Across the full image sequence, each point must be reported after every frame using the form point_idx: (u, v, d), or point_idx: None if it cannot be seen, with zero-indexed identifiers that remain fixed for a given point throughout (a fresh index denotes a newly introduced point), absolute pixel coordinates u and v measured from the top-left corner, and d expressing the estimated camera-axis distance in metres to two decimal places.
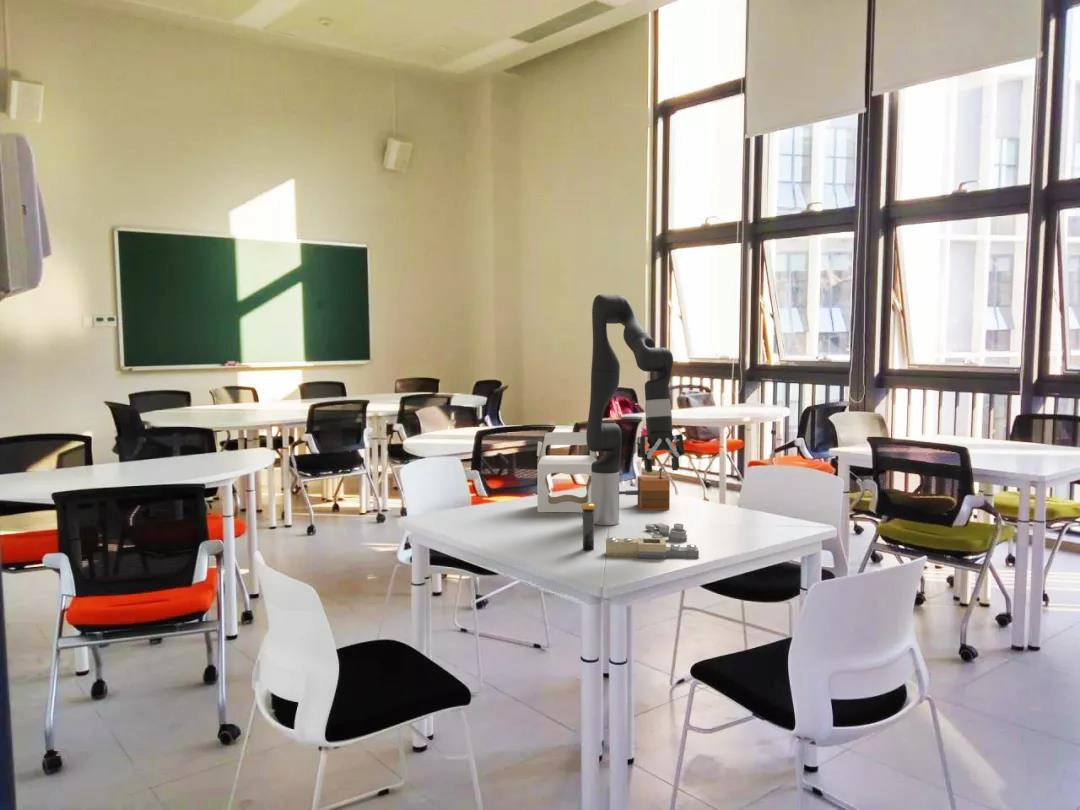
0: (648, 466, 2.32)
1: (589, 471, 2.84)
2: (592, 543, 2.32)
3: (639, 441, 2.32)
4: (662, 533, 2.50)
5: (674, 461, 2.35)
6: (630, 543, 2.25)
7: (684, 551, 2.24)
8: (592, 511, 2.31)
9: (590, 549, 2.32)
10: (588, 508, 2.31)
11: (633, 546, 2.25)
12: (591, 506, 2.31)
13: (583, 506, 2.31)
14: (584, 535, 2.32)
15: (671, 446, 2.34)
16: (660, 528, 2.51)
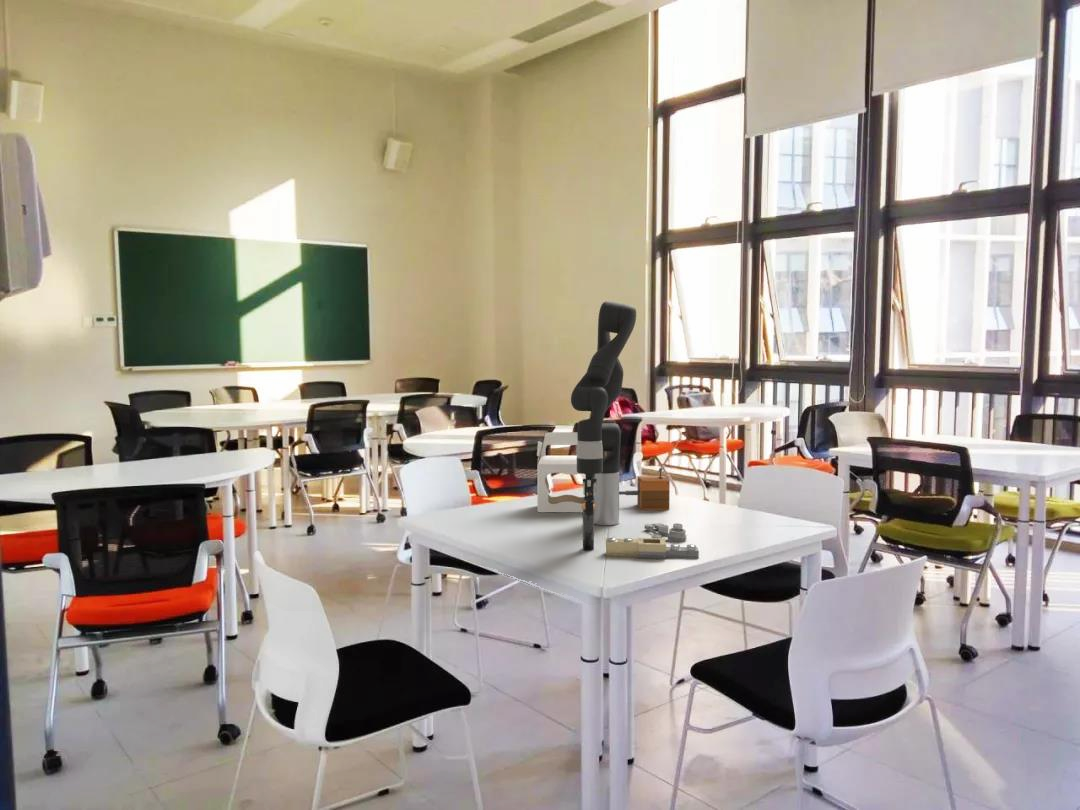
0: None
1: None
2: (592, 543, 2.32)
3: None
4: (661, 533, 2.50)
5: None
6: (630, 543, 2.25)
7: (684, 551, 2.24)
8: None
9: (590, 549, 2.32)
10: None
11: (633, 546, 2.25)
12: None
13: (583, 506, 2.31)
14: (584, 535, 2.32)
15: None
16: (659, 528, 2.51)
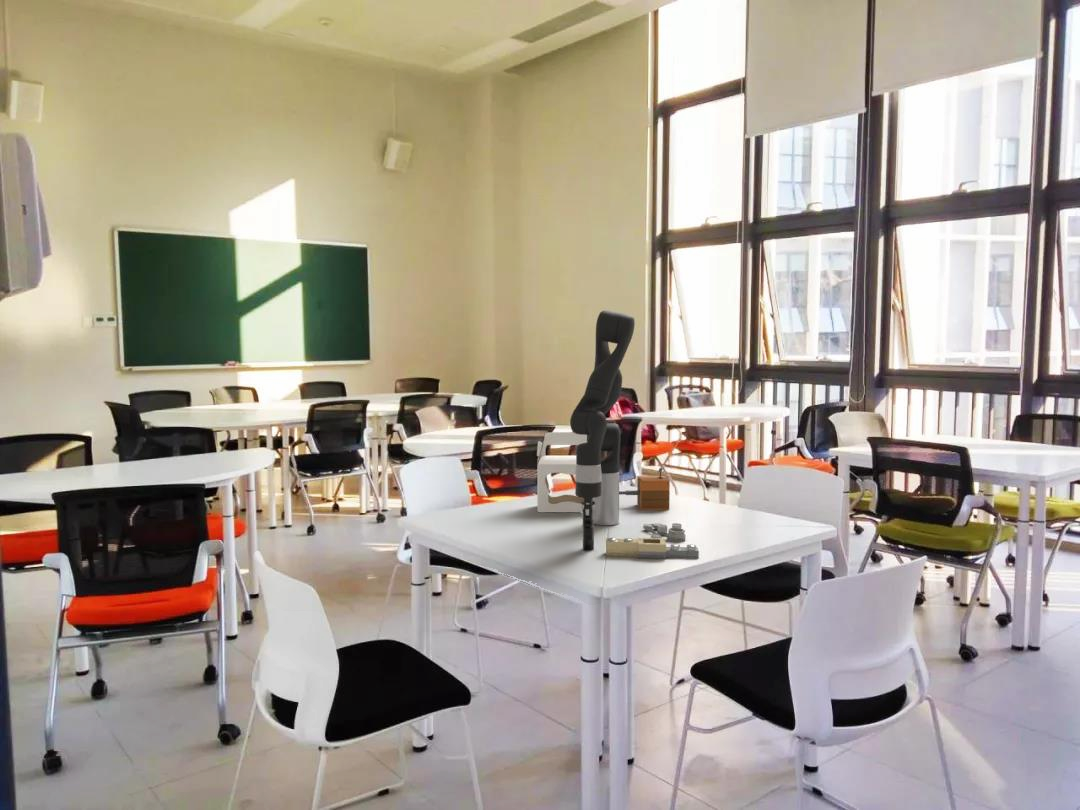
0: None
1: None
2: (592, 543, 2.32)
3: None
4: (660, 533, 2.50)
5: None
6: (630, 543, 2.25)
7: (684, 551, 2.24)
8: None
9: (590, 549, 2.32)
10: None
11: (633, 546, 2.25)
12: None
13: None
14: None
15: (582, 513, 2.31)
16: (658, 528, 2.51)
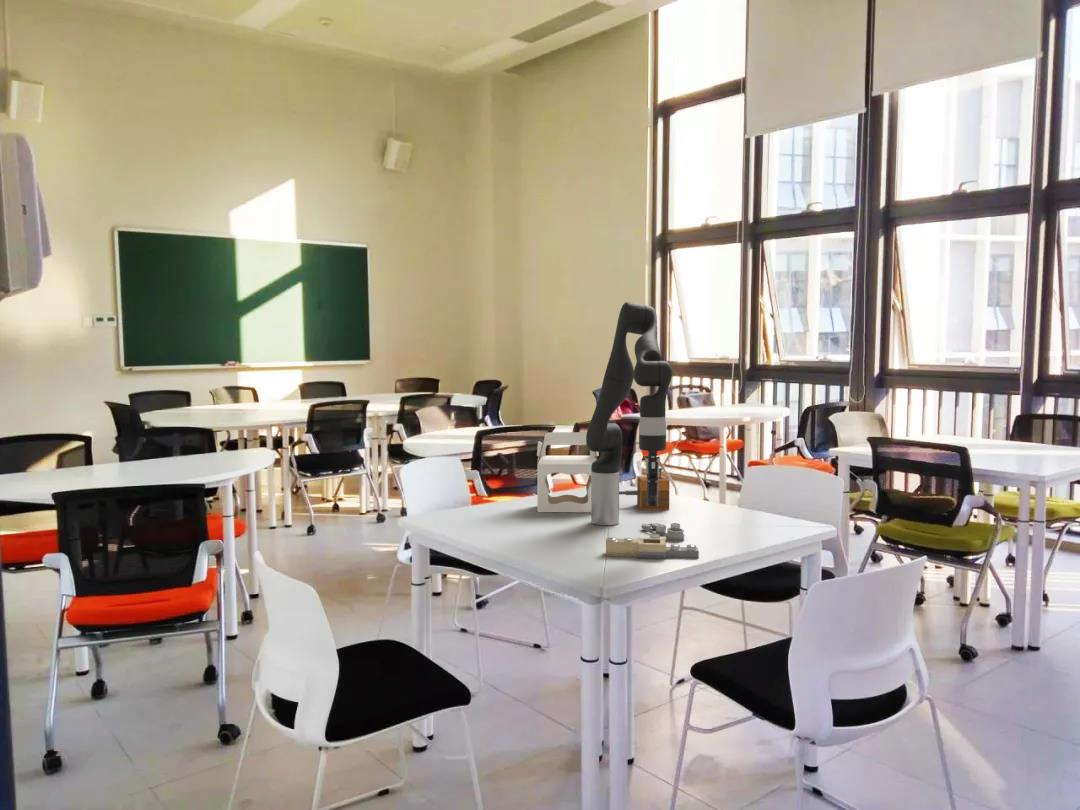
0: None
1: (589, 471, 2.84)
2: (656, 498, 2.24)
3: None
4: (659, 533, 2.51)
5: None
6: (630, 543, 2.25)
7: (684, 551, 2.24)
8: None
9: (655, 505, 2.24)
10: None
11: (633, 546, 2.25)
12: None
13: None
14: (648, 490, 2.24)
15: (646, 467, 2.23)
16: (657, 528, 2.52)
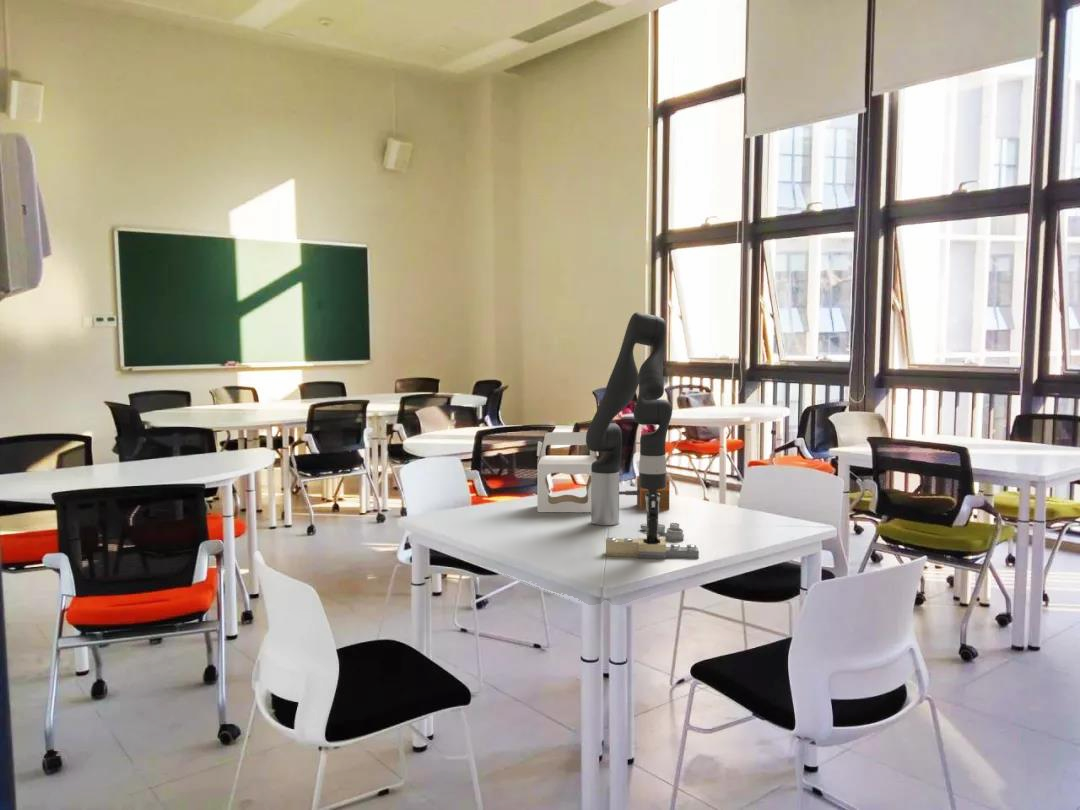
0: None
1: (589, 471, 2.84)
2: (657, 536, 2.25)
3: None
4: (658, 533, 2.51)
5: None
6: (630, 543, 2.25)
7: (684, 551, 2.24)
8: None
9: (655, 542, 2.25)
10: None
11: (633, 546, 2.25)
12: None
13: None
14: (648, 528, 2.25)
15: (646, 505, 2.24)
16: None
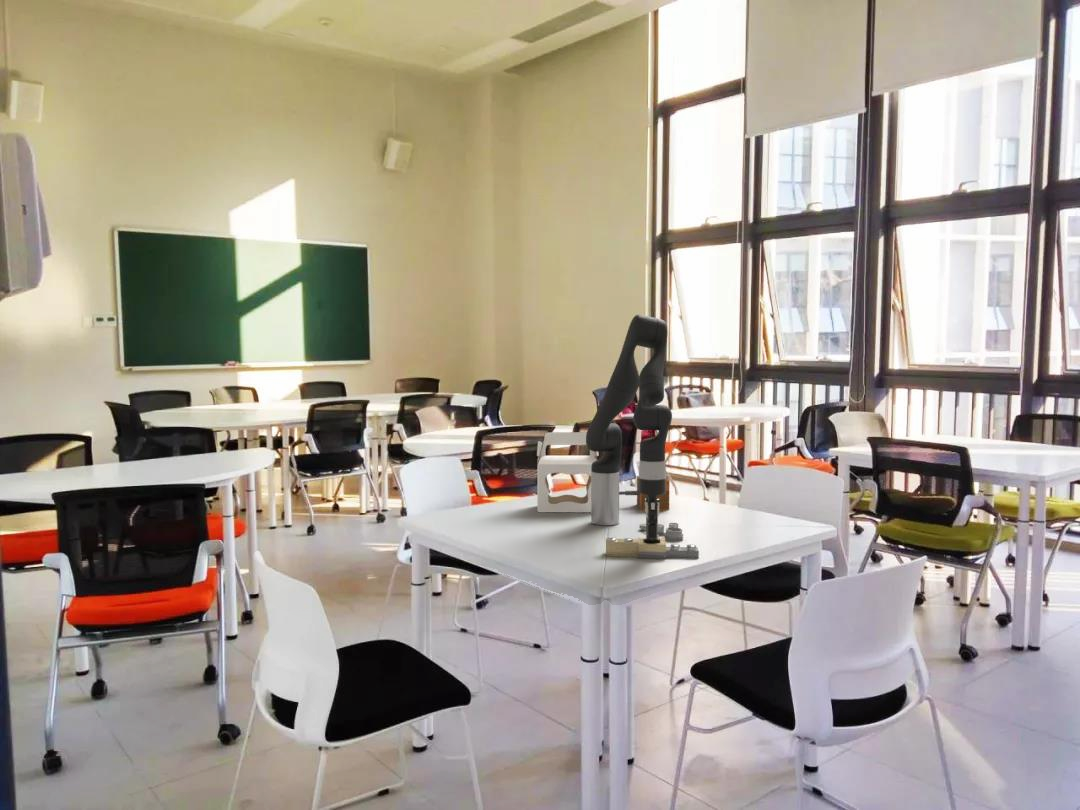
0: None
1: (589, 471, 2.84)
2: None
3: None
4: None
5: None
6: (630, 543, 2.25)
7: (684, 551, 2.24)
8: None
9: None
10: None
11: (633, 546, 2.25)
12: None
13: None
14: (648, 540, 2.25)
15: (646, 510, 2.23)
16: None
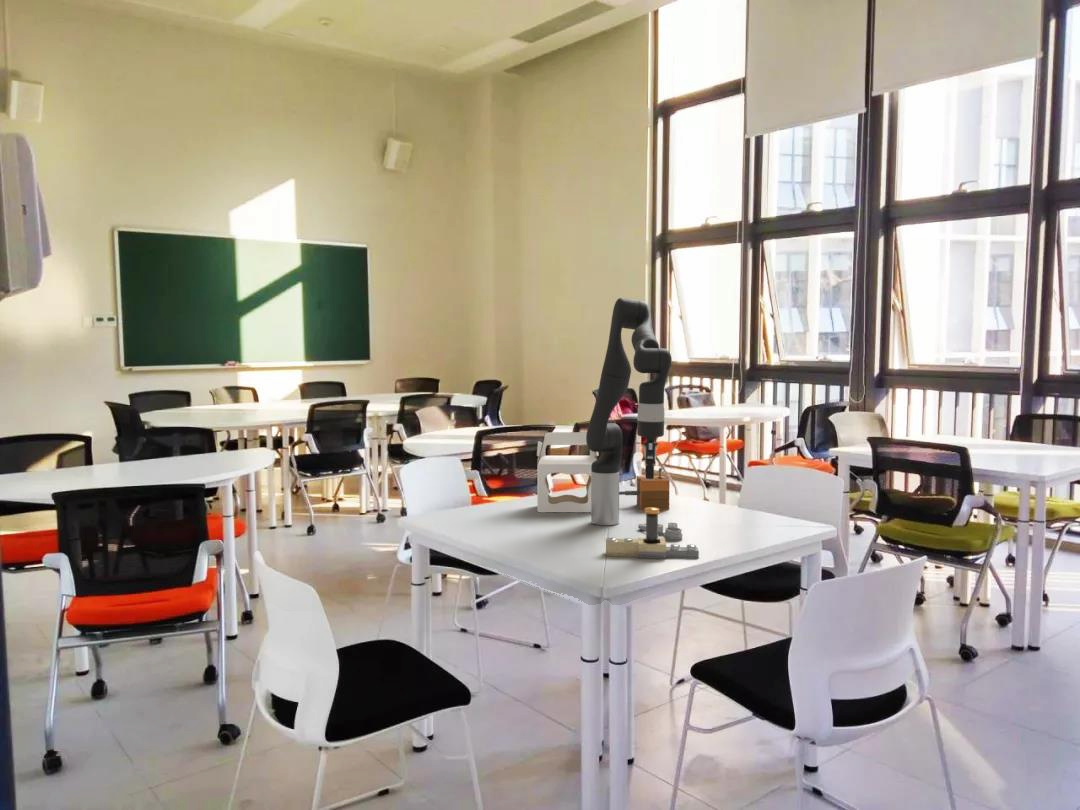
0: None
1: (589, 471, 2.84)
2: None
3: None
4: None
5: None
6: (630, 543, 2.25)
7: (684, 551, 2.24)
8: (656, 516, 2.25)
9: None
10: (652, 513, 2.24)
11: (633, 546, 2.25)
12: (655, 511, 2.24)
13: (647, 511, 2.24)
14: (648, 541, 2.25)
15: (644, 452, 2.26)
16: None
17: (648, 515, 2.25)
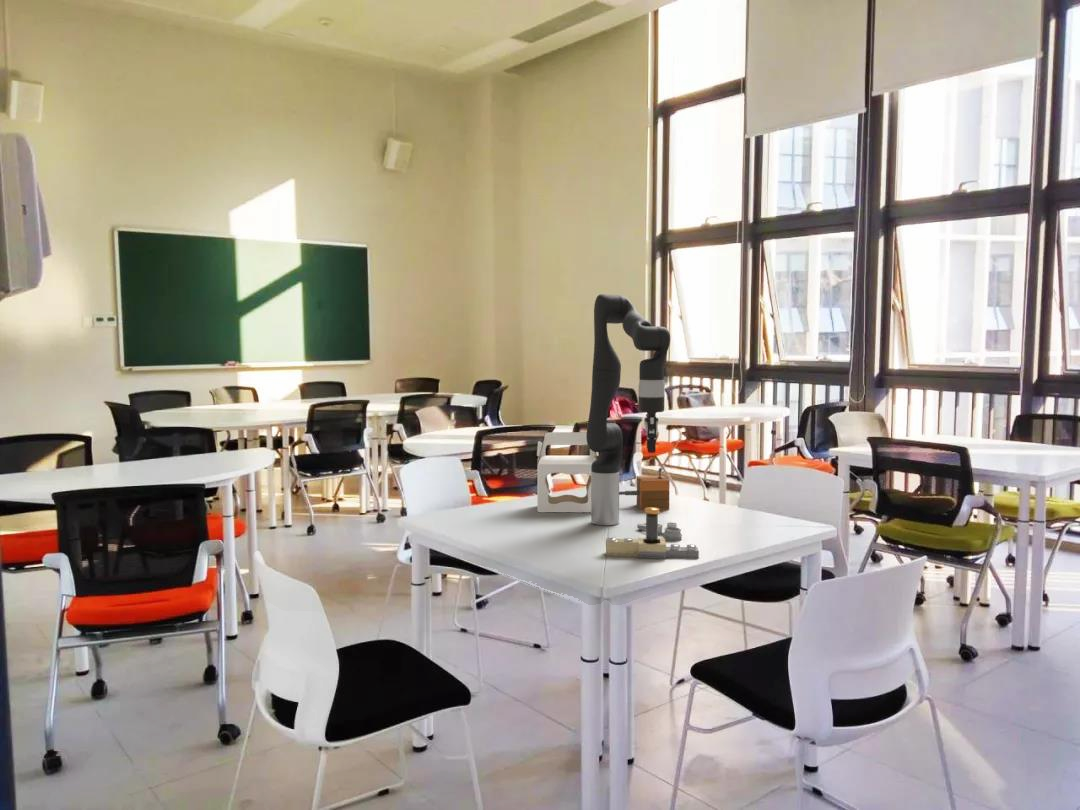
0: None
1: (589, 471, 2.84)
2: None
3: None
4: None
5: None
6: (630, 543, 2.25)
7: (684, 551, 2.24)
8: (656, 516, 2.25)
9: None
10: (652, 513, 2.24)
11: (633, 546, 2.25)
12: (655, 511, 2.24)
13: (647, 511, 2.24)
14: (648, 541, 2.25)
15: (645, 427, 2.33)
16: None
17: (648, 515, 2.25)
